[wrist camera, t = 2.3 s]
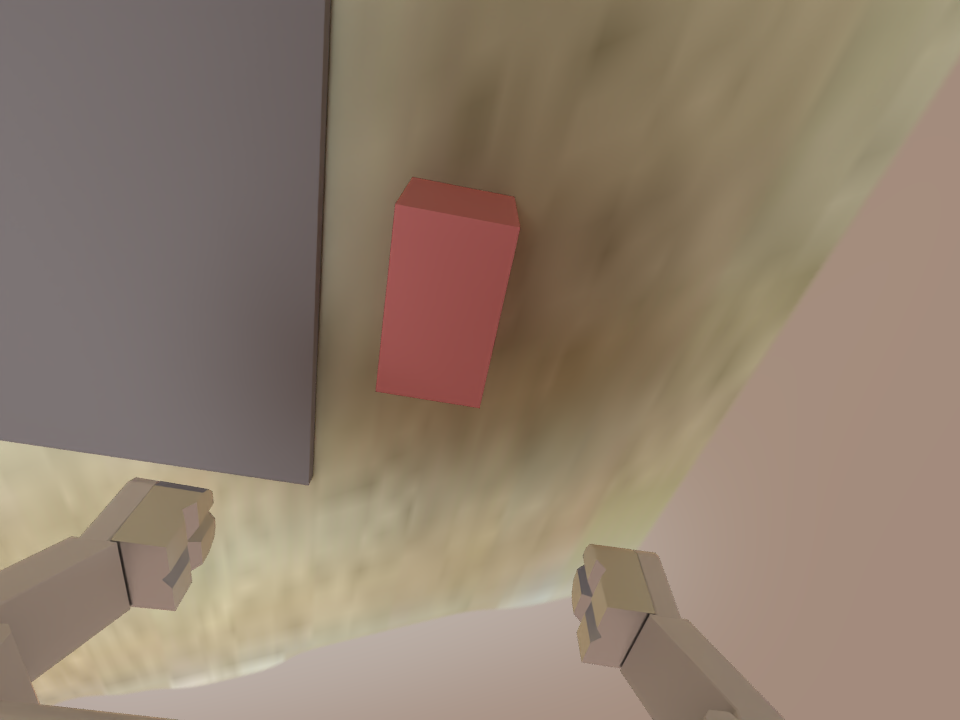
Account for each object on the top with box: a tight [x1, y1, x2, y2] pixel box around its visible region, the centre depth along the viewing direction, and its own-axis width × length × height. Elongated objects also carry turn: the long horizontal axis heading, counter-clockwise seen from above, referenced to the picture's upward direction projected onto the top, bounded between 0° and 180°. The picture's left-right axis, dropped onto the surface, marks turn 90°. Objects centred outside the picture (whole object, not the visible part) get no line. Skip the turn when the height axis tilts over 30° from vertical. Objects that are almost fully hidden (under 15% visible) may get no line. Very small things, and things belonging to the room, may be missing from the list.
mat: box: [0, 0, 331, 485], centre depth 24 cm, size 24×18×1 cm
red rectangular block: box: [376, 177, 520, 408], centre depth 23 cm, size 8×4×5 cm, turn 170°
